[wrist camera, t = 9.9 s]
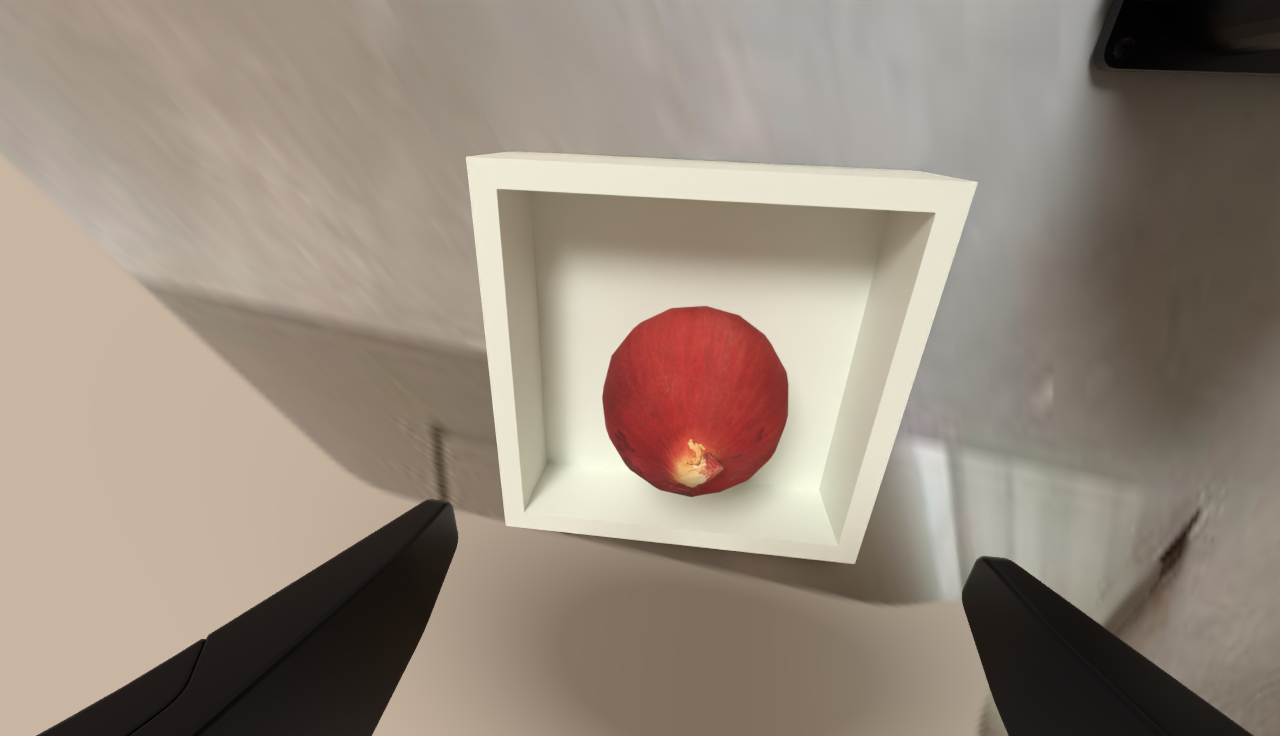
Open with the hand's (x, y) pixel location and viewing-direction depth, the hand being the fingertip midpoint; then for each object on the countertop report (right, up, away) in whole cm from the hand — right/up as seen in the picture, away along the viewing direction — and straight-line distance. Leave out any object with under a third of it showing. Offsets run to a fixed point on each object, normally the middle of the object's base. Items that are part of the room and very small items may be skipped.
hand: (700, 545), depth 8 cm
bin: (+1, +4, +11) cm, 12 cm away
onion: (+1, +4, +11) cm, 11 cm away
